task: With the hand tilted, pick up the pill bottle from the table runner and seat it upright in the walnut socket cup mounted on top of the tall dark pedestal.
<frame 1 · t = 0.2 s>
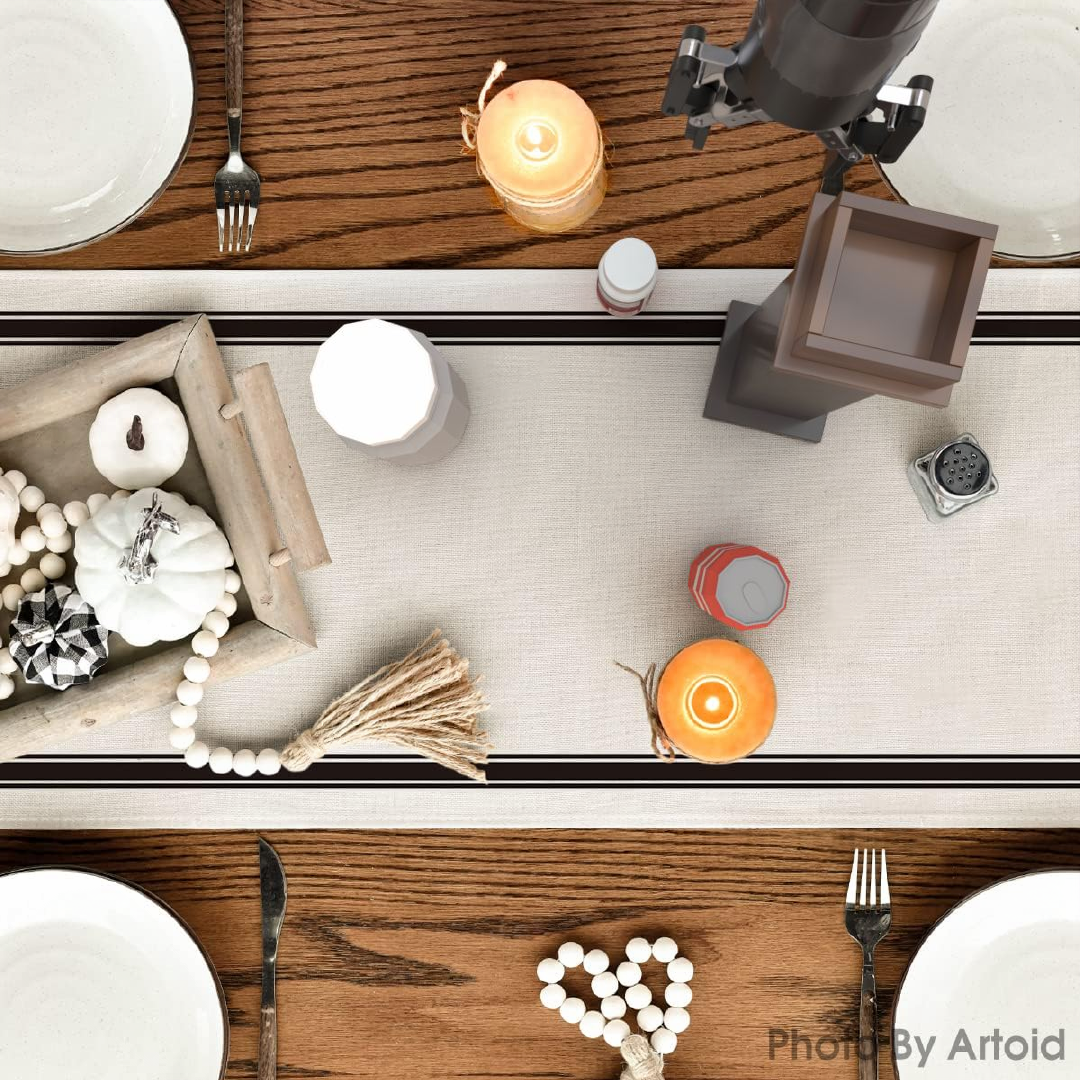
hand: (764, 149, 60), 19 cm above the table, tool pointing down, fingers open, 8 cm apart
pedestal: (773, 373, 79), on the table
pill bottle: (623, 290, 79), on the table
jar: (415, 411, 80), on the table
beverage can: (723, 579, 79), on the table
socket cup: (875, 303, 53), resting on pedestal
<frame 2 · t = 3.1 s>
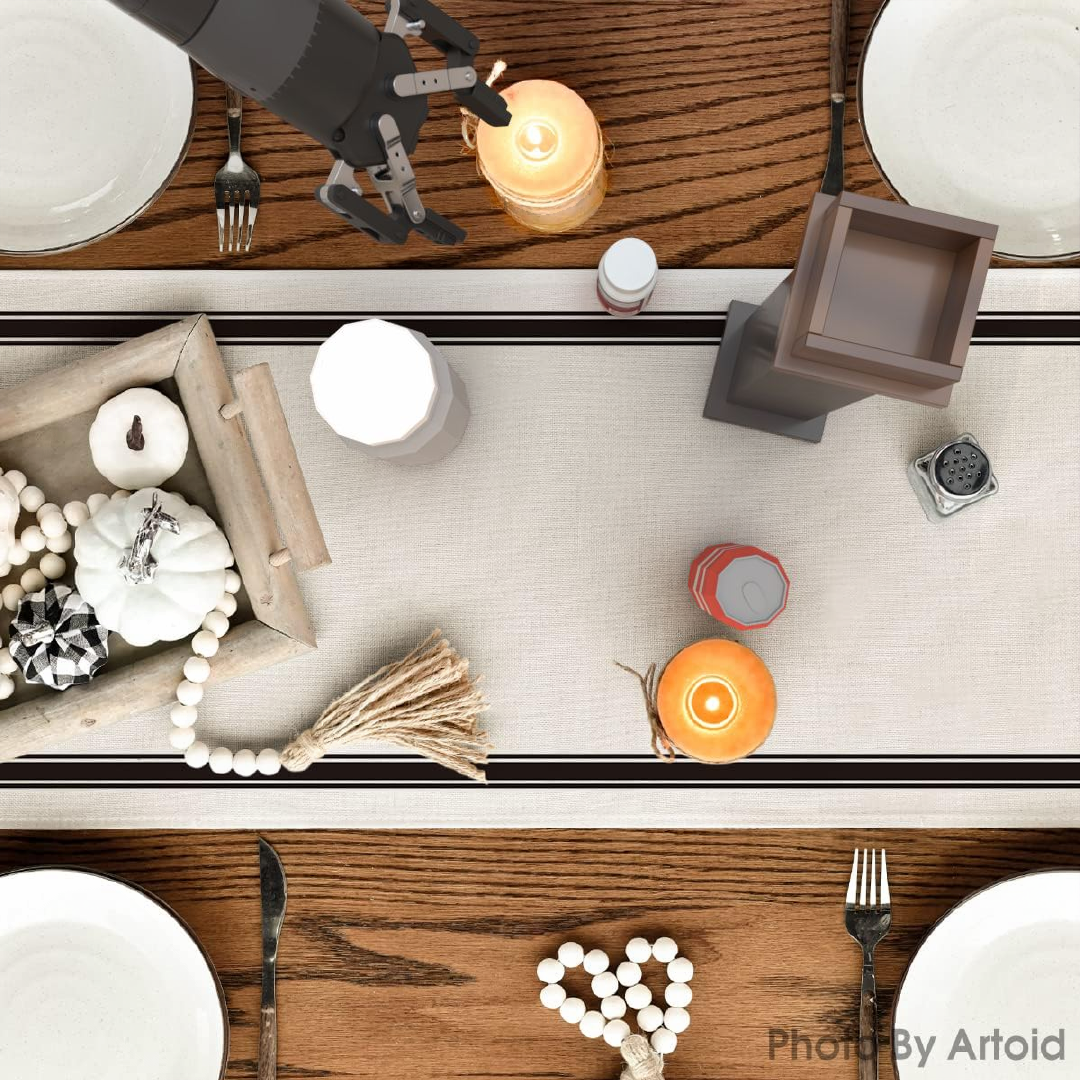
hand: (481, 179, 64), 15 cm above the table, tool tilted 45°, fingers open, 8 cm apart
nothing on the table moved.
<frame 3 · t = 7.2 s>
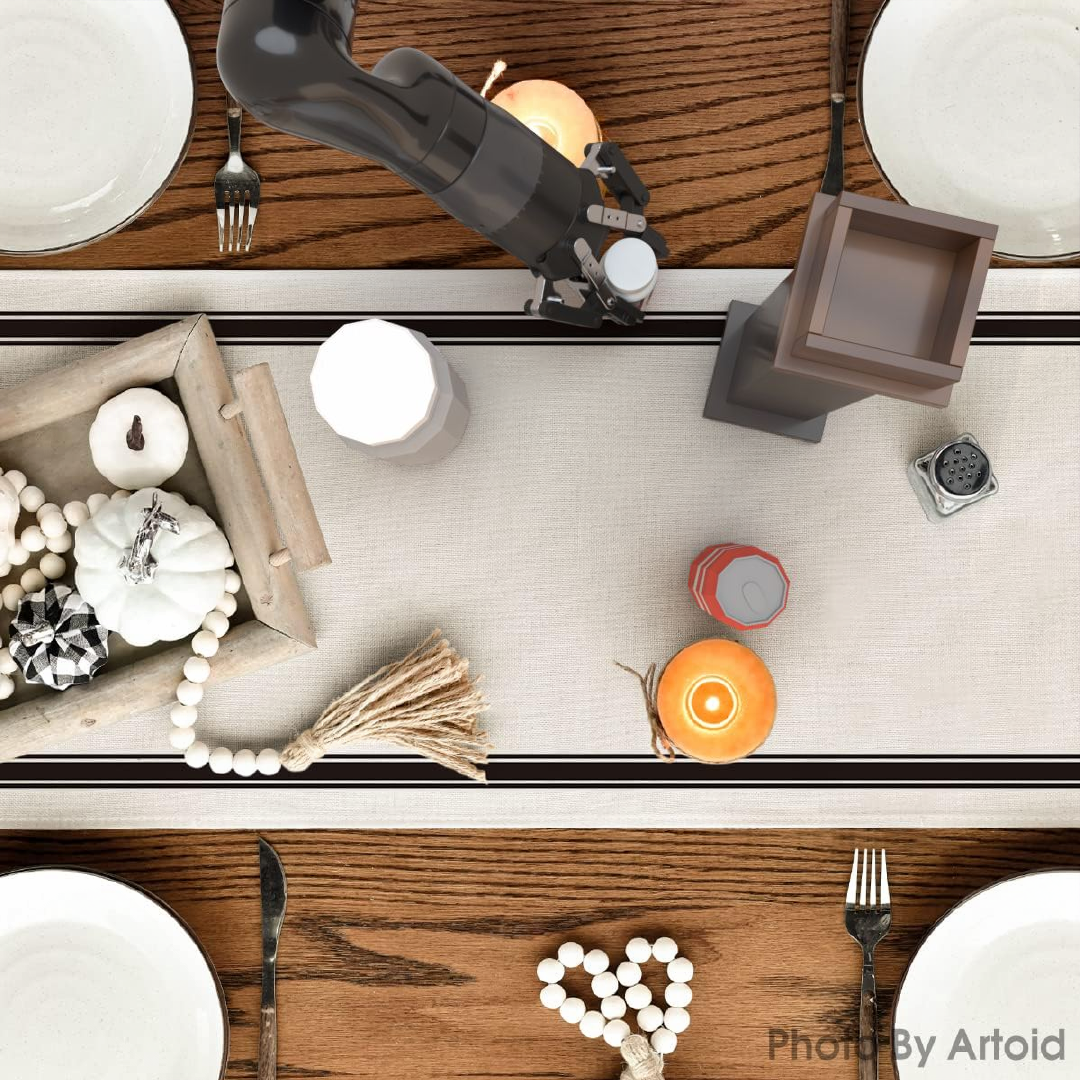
hand: (648, 285, 75), 4 cm above the table, tool tilted 45°, fingers closed on pill bottle, 4 cm apart
pill bottle: (623, 290, 79), on the table, touching gripper
everything else where it was.
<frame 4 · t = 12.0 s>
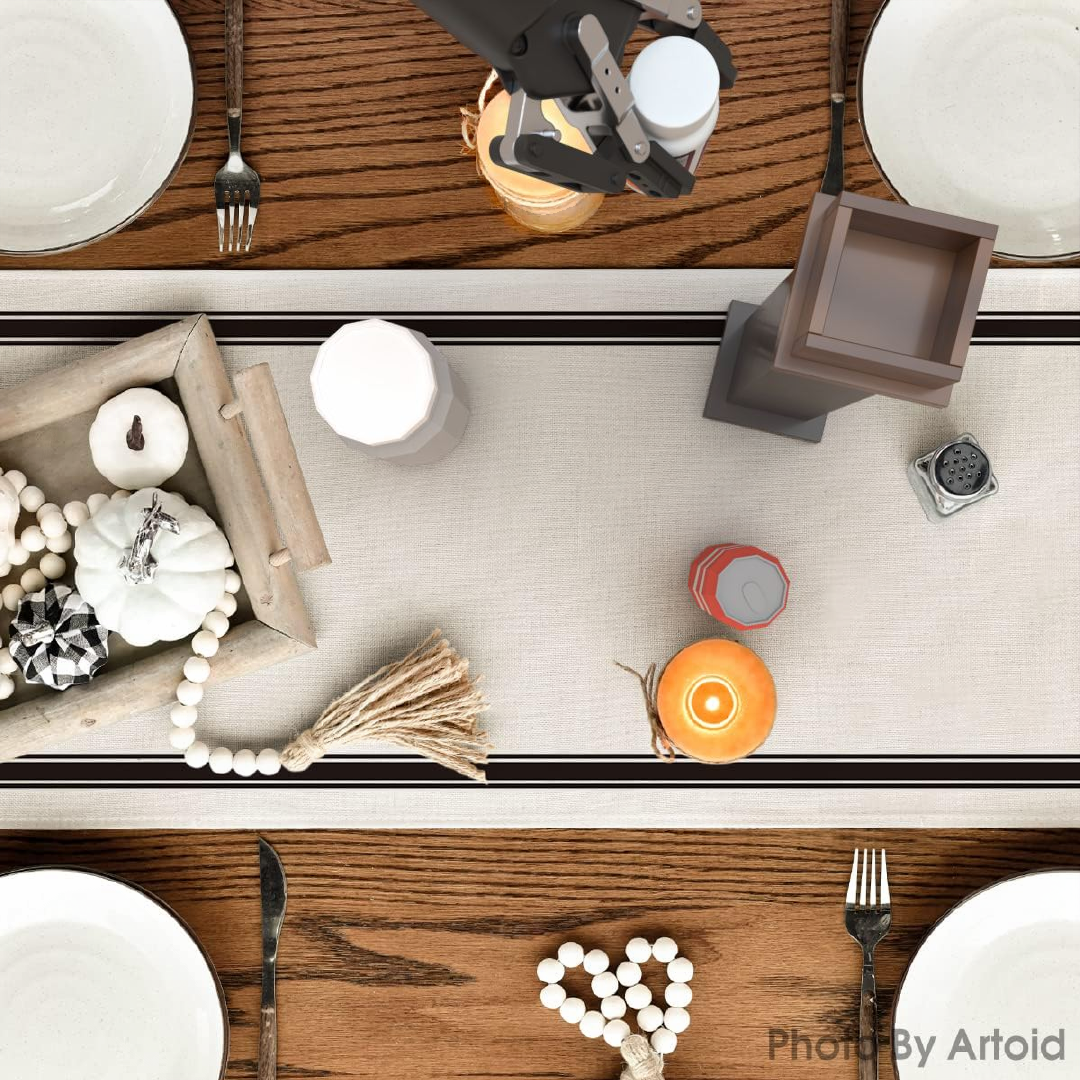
hand: (700, 134, 45), 34 cm above the table, tool tilted 45°, fingers closed on pill bottle, 4 cm apart
pill bottle: (655, 154, 49), point 30 cm above the table, touching gripper
everything else where it was.
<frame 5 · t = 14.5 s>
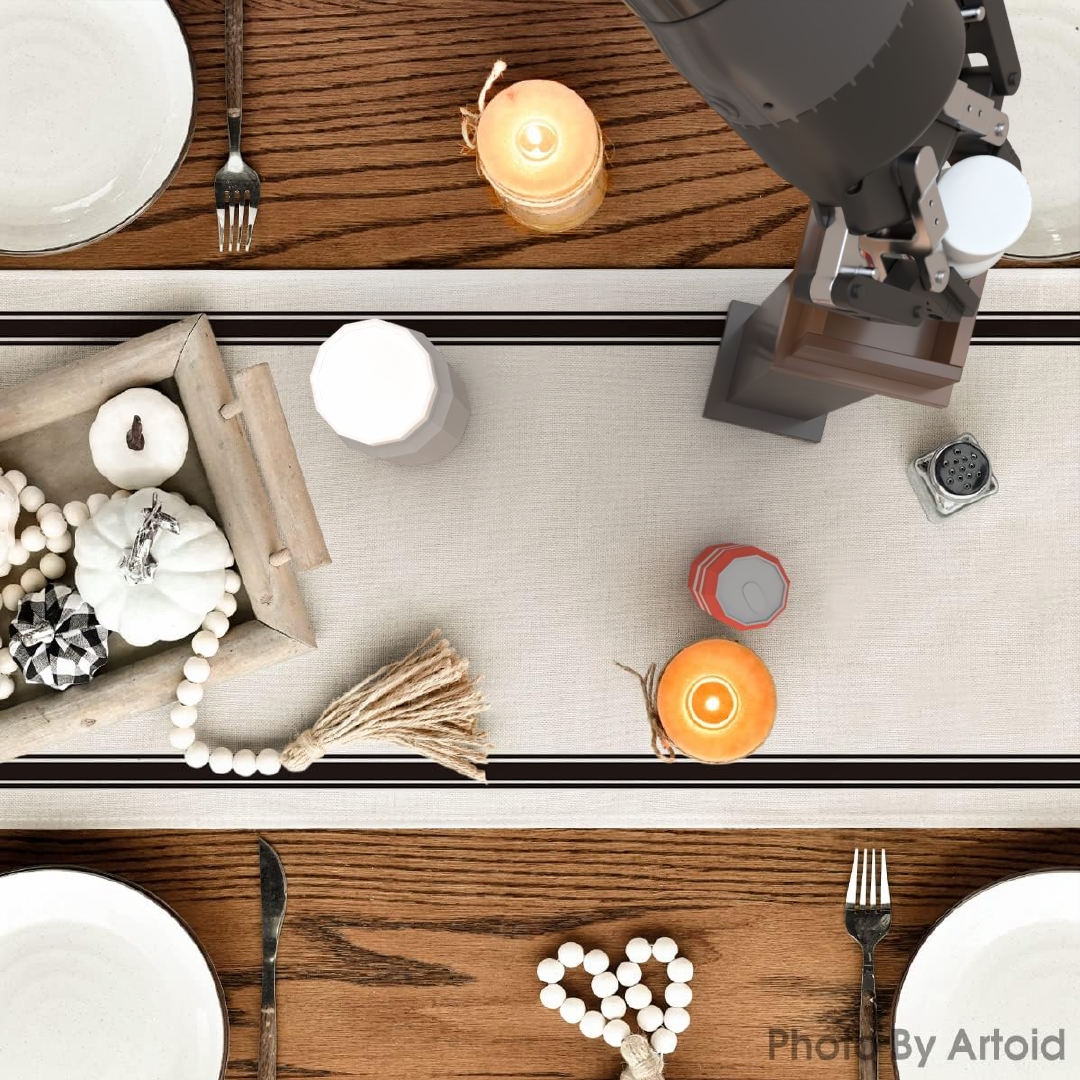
hand: (979, 250, 41), 37 cm above the table, tool tilted 45°, fingers closed on pill bottle, 4 cm apart
pill bottle: (904, 261, 46), point 33 cm above the table, touching gripper
everything else where it was.
when the fingers open (31 cm above the table, at t = 16.7 s): pill bottle stays where it is, resting on socket cup.
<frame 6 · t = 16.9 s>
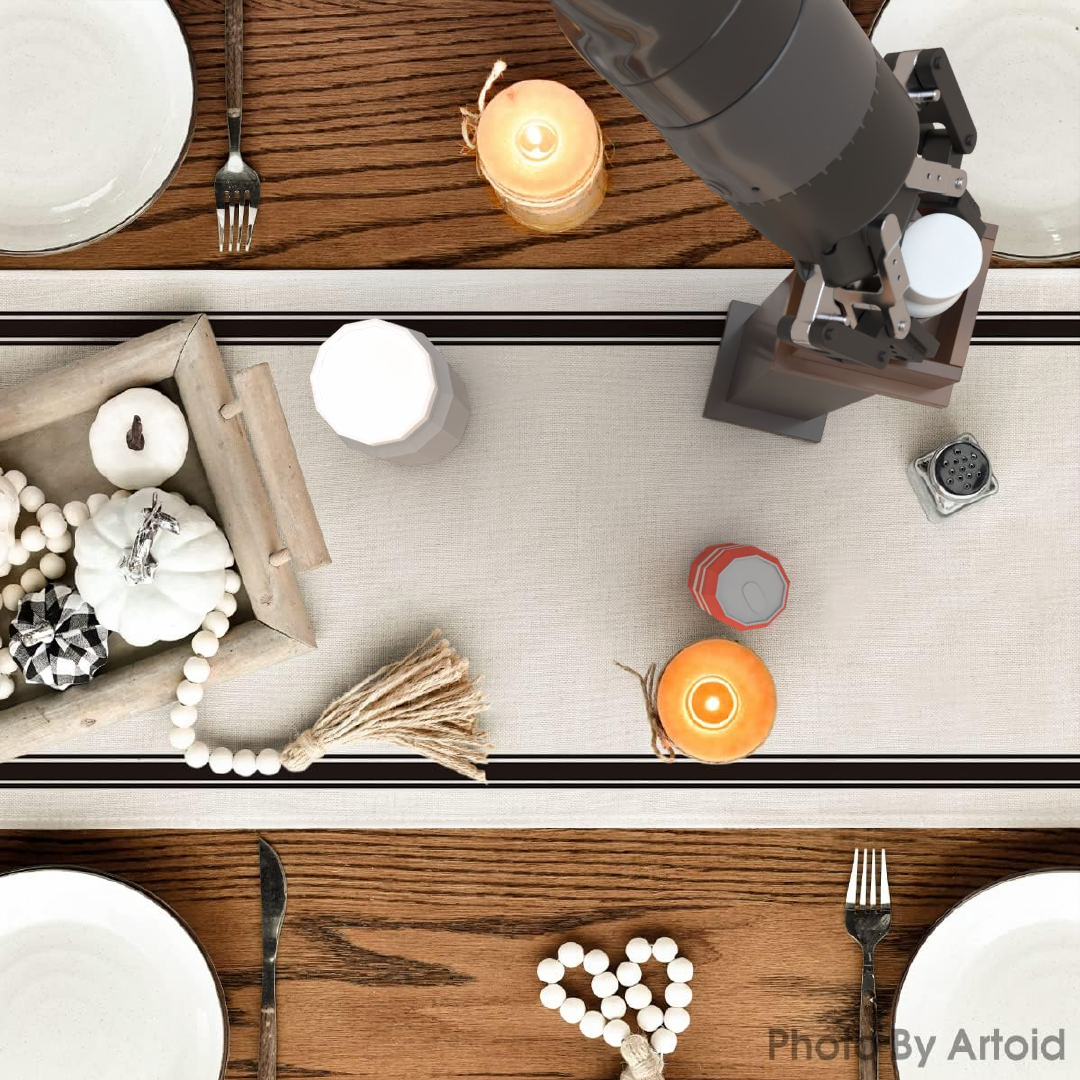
hand: (942, 292, 47), 31 cm above the table, tool tilted 45°, fingers open, 5 cm apart
pill bottle: (878, 298, 52), point 27 cm above the table, touching socket cup
everything else where it was.
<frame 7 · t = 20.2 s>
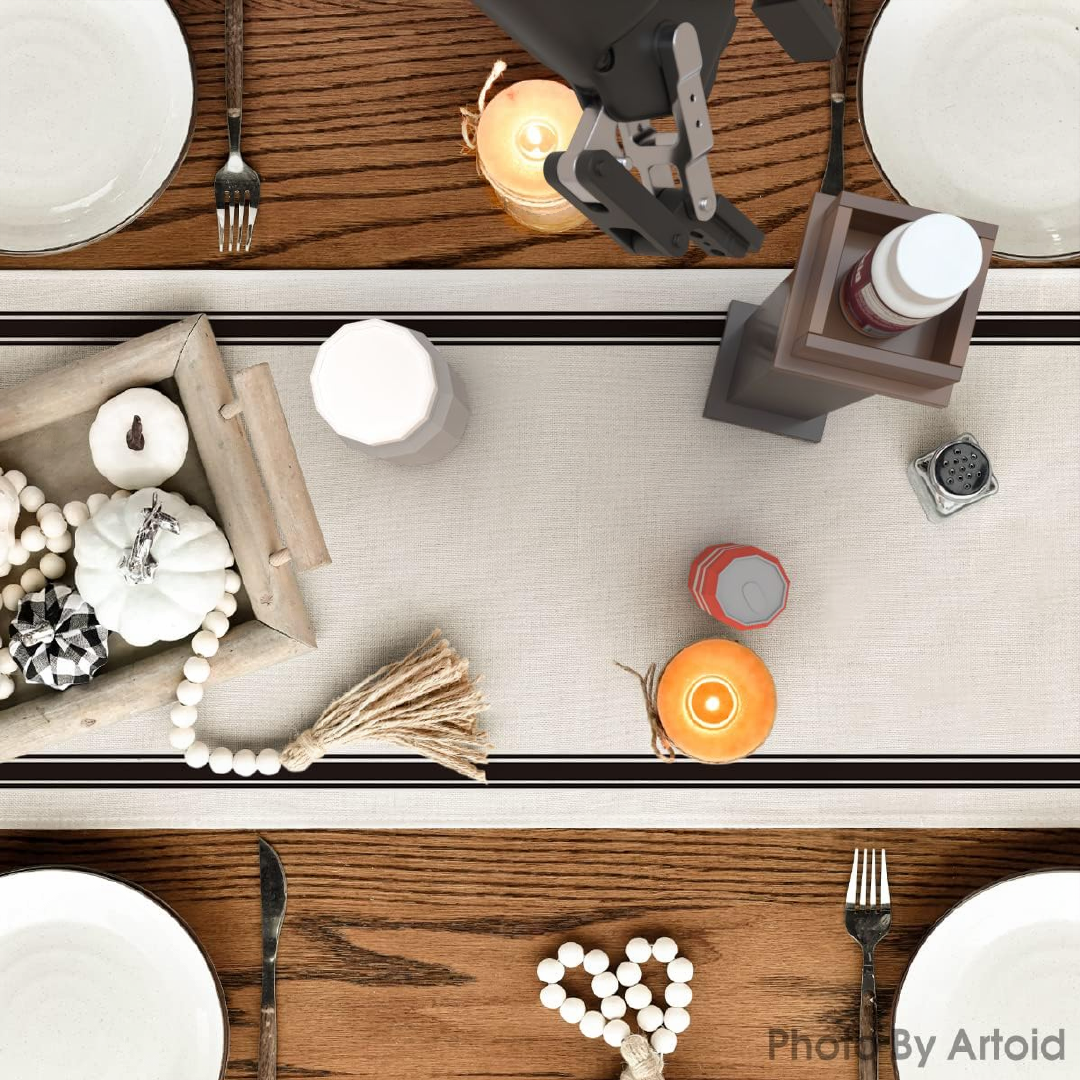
hand: (783, 149, 39), 40 cm above the table, tool tilted 45°, fingers open, 8 cm apart
nothing on the table moved.
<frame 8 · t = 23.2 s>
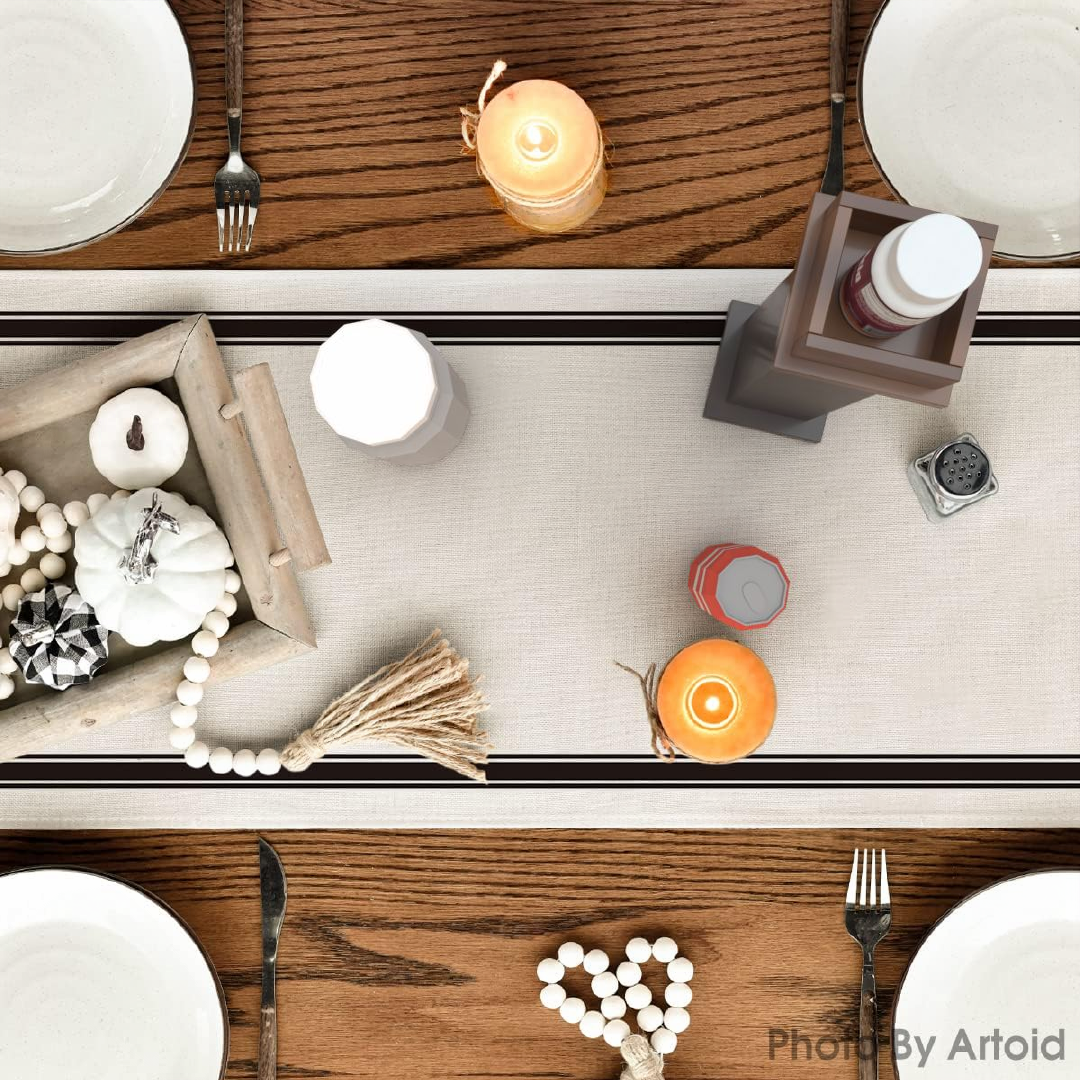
nothing on the table moved.
at the end: pill bottle 0.2 cm off-centre on the socket cup, point 0.8 cm above the socket cup's base; pill bottle tilted 0° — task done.
